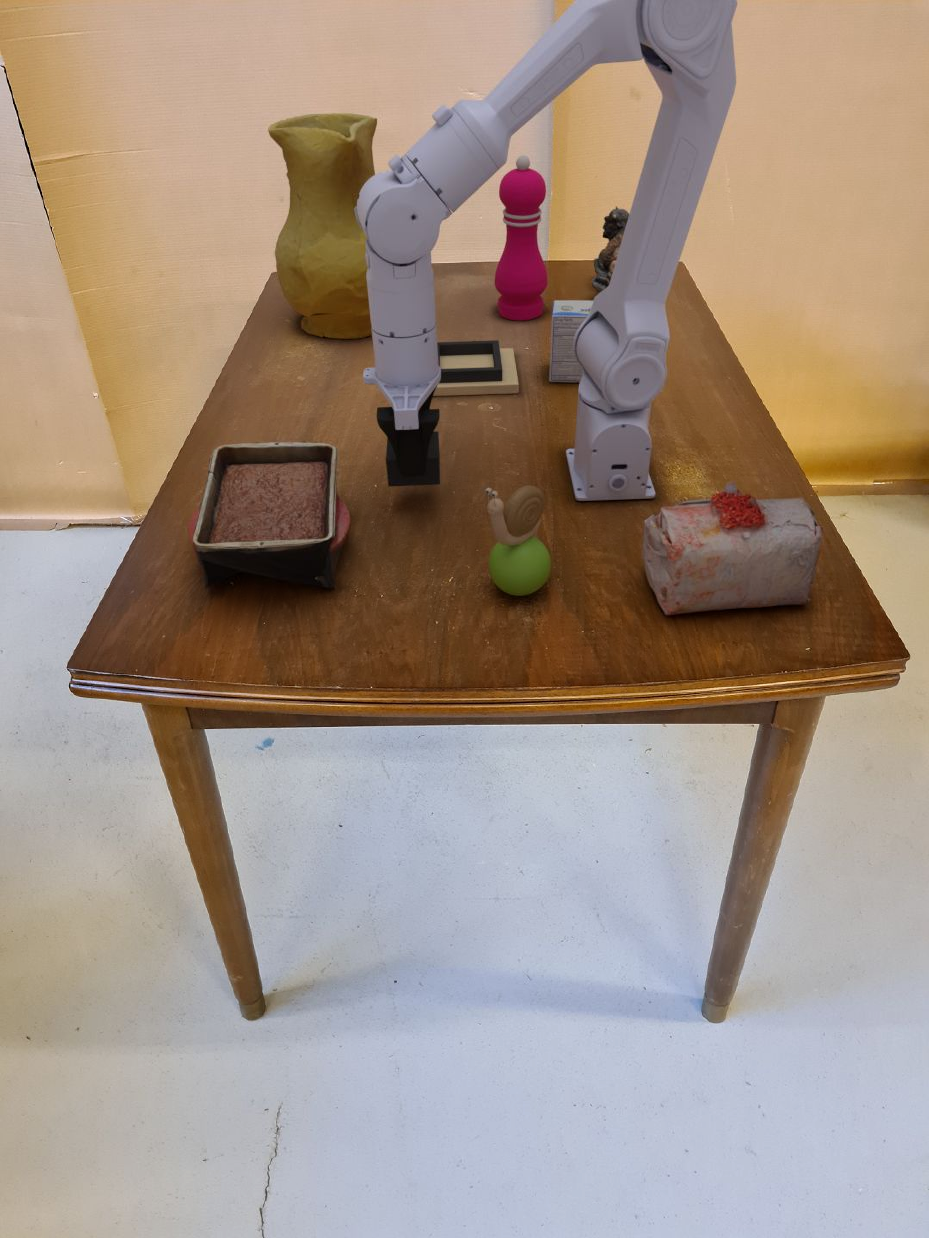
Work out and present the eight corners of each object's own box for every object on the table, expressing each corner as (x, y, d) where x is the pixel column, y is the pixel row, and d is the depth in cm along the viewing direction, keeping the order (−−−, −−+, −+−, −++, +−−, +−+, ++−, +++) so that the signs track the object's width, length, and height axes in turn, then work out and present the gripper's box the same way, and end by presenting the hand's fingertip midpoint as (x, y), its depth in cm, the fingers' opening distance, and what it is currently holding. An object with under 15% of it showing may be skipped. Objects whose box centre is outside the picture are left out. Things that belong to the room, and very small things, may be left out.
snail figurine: (468, 594, 80) (464, 478, 72) (517, 562, 83) (519, 448, 76) (512, 622, 77) (514, 504, 69) (562, 588, 80) (569, 472, 73)
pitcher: (275, 348, 118) (248, 133, 103) (291, 299, 133) (270, 105, 117) (406, 347, 119) (399, 133, 103) (409, 299, 133) (402, 106, 118)
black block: (440, 484, 87) (438, 456, 85) (388, 486, 87) (385, 458, 85) (439, 457, 91) (438, 429, 89) (390, 459, 91) (387, 431, 89)
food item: (654, 626, 76) (669, 531, 70) (633, 568, 82) (645, 475, 76) (813, 615, 77) (842, 519, 70) (781, 558, 83) (805, 465, 76)
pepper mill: (487, 306, 128) (486, 151, 115) (535, 298, 130) (539, 145, 116) (504, 325, 123) (505, 166, 110) (554, 318, 124) (561, 160, 111)
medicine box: (613, 368, 113) (619, 300, 107) (614, 385, 109) (620, 315, 103) (549, 367, 113) (552, 298, 108) (548, 383, 110) (551, 314, 104)
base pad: (518, 393, 108) (519, 372, 106) (418, 397, 108) (416, 376, 106) (512, 356, 116) (513, 336, 114) (419, 360, 116) (417, 339, 114)
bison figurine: (642, 308, 126) (650, 234, 120) (591, 308, 127) (596, 234, 120) (635, 276, 135) (642, 205, 128) (588, 276, 136) (592, 205, 129)
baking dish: (365, 520, 92) (348, 427, 87) (345, 613, 77) (324, 507, 72) (227, 533, 93) (202, 441, 88) (180, 627, 78) (147, 523, 73)
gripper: (362, 294, 85) (376, 423, 94) (352, 363, 74) (368, 502, 83) (438, 291, 85) (444, 421, 94) (439, 359, 74) (445, 499, 83)
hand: (413, 459), depth 88 cm, fingers closed on black block, 5 cm apart
